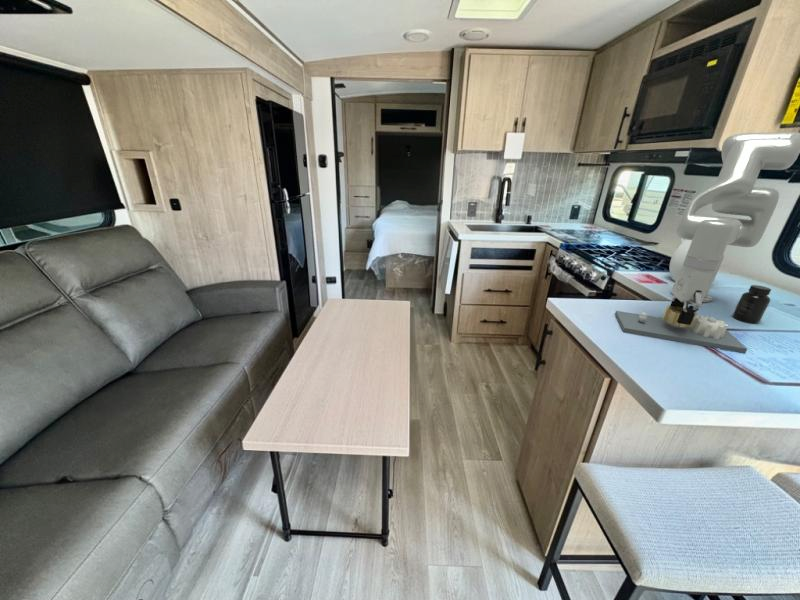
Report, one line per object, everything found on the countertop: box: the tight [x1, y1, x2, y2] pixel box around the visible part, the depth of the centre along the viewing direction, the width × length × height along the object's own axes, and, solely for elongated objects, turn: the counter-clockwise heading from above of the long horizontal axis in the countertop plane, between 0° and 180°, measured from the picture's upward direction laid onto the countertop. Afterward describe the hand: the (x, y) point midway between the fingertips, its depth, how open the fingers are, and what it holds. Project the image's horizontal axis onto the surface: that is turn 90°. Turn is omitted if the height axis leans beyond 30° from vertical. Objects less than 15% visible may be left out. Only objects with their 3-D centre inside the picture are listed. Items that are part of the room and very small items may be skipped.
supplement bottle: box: [732, 284, 772, 324], centre depth 111 cm, size 7×7×12 cm
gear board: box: [614, 310, 748, 354], centre depth 103 cm, size 14×30×6 cm, turn 68°
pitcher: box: [669, 238, 723, 282], centre depth 146 cm, size 24×17×28 cm
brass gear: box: [661, 305, 698, 328], centre depth 101 cm, size 8×8×4 cm
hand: (678, 317), depth 102 cm, fingers closed on brass gear, 7 cm apart
